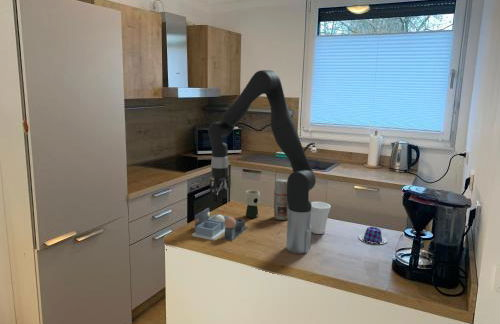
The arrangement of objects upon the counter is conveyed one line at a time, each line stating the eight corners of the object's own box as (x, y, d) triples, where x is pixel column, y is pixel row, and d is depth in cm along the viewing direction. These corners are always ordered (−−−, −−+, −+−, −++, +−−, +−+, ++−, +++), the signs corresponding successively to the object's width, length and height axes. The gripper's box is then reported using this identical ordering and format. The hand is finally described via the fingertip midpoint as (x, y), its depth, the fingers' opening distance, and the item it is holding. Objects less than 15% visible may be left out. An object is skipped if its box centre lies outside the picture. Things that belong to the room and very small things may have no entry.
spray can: (270, 218, 196) (271, 179, 192) (277, 214, 203) (278, 176, 199) (286, 222, 192) (288, 182, 188) (292, 217, 199) (294, 178, 195)
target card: (209, 223, 187) (209, 207, 186) (195, 232, 176) (195, 215, 174) (208, 223, 187) (208, 207, 186) (194, 232, 176) (194, 215, 174)
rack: (234, 225, 186) (234, 216, 185) (214, 240, 168) (214, 231, 167) (214, 221, 190) (214, 213, 190) (192, 235, 172) (192, 226, 172)
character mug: (252, 221, 192) (253, 195, 190) (240, 218, 196) (240, 193, 193) (263, 214, 202) (264, 190, 199) (251, 212, 205) (252, 188, 202)
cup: (322, 238, 174) (324, 210, 171) (302, 232, 180) (304, 205, 177) (332, 231, 182) (334, 204, 179) (313, 226, 188) (314, 200, 185)
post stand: (247, 228, 183) (247, 219, 182) (232, 241, 168) (232, 230, 167) (237, 226, 184) (237, 217, 184) (221, 238, 170) (221, 228, 169)
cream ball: (226, 224, 185) (226, 214, 184) (221, 227, 180) (221, 217, 179) (217, 222, 187) (217, 212, 186) (211, 226, 182) (212, 215, 181)
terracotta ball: (237, 227, 172) (238, 216, 171) (232, 231, 168) (232, 220, 167) (227, 225, 174) (227, 214, 173) (222, 229, 170) (222, 218, 169)
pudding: (391, 240, 174) (393, 229, 173) (379, 248, 166) (380, 236, 165) (366, 232, 182) (367, 222, 181) (353, 239, 174) (354, 228, 173)
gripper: (219, 169, 170) (219, 205, 173) (234, 163, 183) (234, 197, 186) (204, 168, 173) (205, 203, 176) (219, 162, 186) (219, 195, 189)
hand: (219, 200), depth 181 cm, fingers open, 8 cm apart
